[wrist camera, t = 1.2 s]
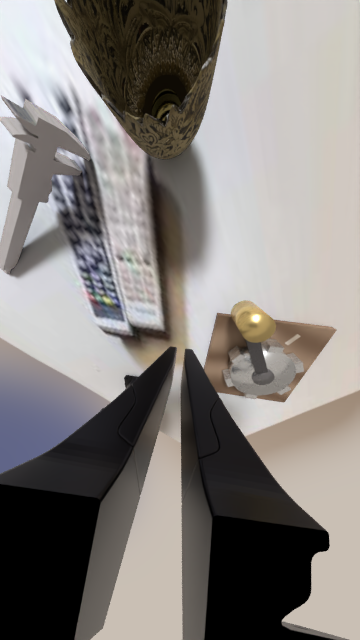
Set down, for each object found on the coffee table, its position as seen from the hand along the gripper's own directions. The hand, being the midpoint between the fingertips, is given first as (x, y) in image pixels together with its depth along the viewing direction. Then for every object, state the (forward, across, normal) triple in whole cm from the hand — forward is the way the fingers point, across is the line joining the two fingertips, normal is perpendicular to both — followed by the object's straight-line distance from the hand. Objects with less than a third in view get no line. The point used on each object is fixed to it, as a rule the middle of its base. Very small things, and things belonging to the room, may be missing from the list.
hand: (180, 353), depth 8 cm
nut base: (+12, -12, +10) cm, 20 cm away
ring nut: (+11, -11, +7) cm, 17 cm away
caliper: (+12, +20, -7) cm, 24 cm away
